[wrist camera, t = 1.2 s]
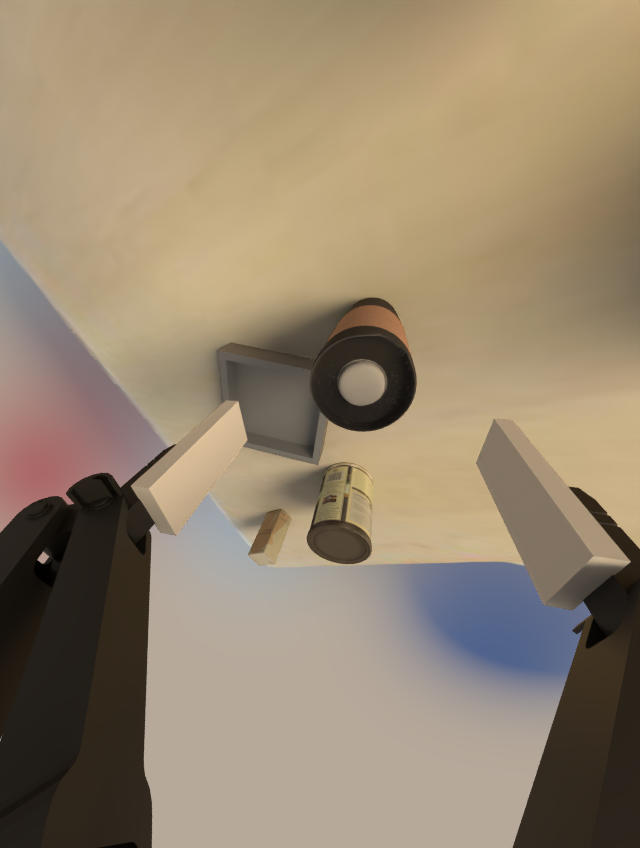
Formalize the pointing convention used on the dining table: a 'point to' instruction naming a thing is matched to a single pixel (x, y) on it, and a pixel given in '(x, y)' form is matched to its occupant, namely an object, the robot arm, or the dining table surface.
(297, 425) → the bin
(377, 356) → the travel mug
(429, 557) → the dining table surface
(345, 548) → the coffee can
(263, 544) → the box
